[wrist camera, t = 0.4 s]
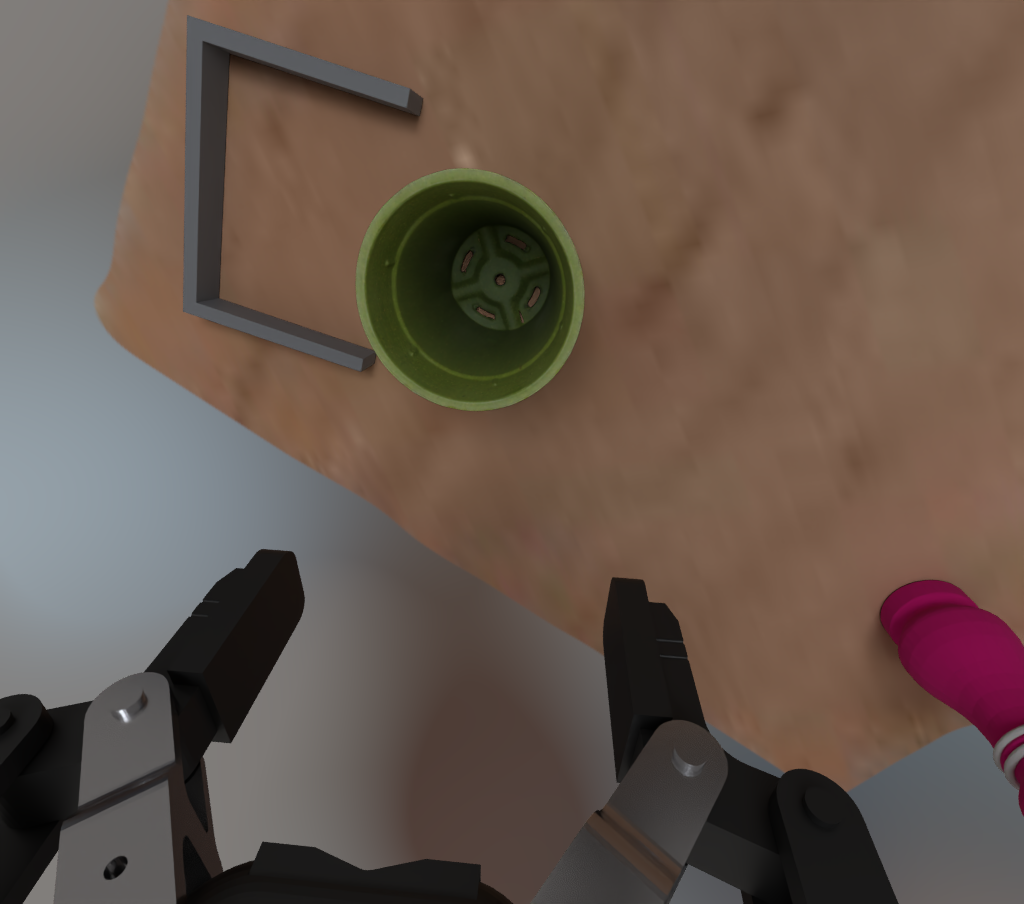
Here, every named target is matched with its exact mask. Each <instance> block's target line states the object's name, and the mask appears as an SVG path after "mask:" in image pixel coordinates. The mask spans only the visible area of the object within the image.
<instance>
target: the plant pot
mask: <svg viewBox="0 0 1024 904" xmlns="http://www.w3.org/2000/svg"><path fill="white" fill-rule="evenodd" d="M508 235H510V236H513V237H515V238H517V239H518V240H521V241H522V242H524V243H525V244H526V248H525V249H524V250H522V249H521V248H519V247H518V246H516V245H514V244H512V243H510V242H505V240H506V238H507V236H508ZM478 238H479V240H478ZM469 250H471V251H472V252H473V257H472V258H471V260H470V262H469V265H468V266H467V268H466V273H465V272H462V271H461V266H462V262H463V260H464V257H465V255H466V254H467V252H468V251H469ZM537 257H539V258H537ZM499 274H502V275H504V277H505V283H504V284H503V285H498V284H496V282H495V277H496V276H497V275H499ZM535 287H539V288H540V291H541V292H540V295H539V297H538V300H537V301H536V303H535V304H534V306H532V307H531V308H530V307H529V306H528V301H529V299H530V298H531V296H532V294H533V291H534V289H535ZM356 299H357V306H358V311H359V315H360V319H361V322H362V325H363V328H364V331H365V333H366V336H367V338H368V340H369V342H370V344H371V346H372V348H373V349H374V351H375V353H376V354H377V356H378V357H379V359H380V360H381V362H382V363H383V364H384V366H385V367H386V368H387V369H388V370H389V372H390V373H391V374H392V375H393V376H394V377H395V378H396V379H398V380H399V381H400V382H401V383H402V384H403V385H405V386H406V387H407V388H408V389H410V390H411V391H413V392H414V393H416V394H417V395H419V396H421V397H423V398H425V399H427V400H429V401H431V402H433V403H436V404H438V405H441V406H445V407H449V408H454V409H459V410H466V411H487V410H494V409H499V408H503V407H507V406H510V405H513V404H515V403H518V402H520V401H522V400H524V399H526V398H528V397H529V396H531V395H532V394H534V393H536V392H537V391H538V390H540V389H541V388H542V387H544V386H545V385H546V384H547V383H548V382H549V381H550V380H551V379H553V377H554V376H555V375H556V374H557V373H558V372H559V370H560V369H561V368H562V366H563V365H564V363H565V362H566V361H567V359H568V357H569V355H570V354H571V352H572V349H573V347H574V345H575V343H576V340H577V338H578V335H579V331H580V328H581V323H582V318H583V311H584V280H583V274H582V269H581V265H580V261H579V258H578V254H577V252H576V249H575V246H574V244H573V242H572V240H571V238H570V236H569V234H568V232H567V231H566V229H565V227H564V226H563V224H562V223H561V221H560V220H559V218H558V217H557V216H556V214H555V213H554V212H553V211H552V209H551V208H550V207H549V206H548V205H547V204H546V203H545V202H544V201H543V200H542V199H541V198H539V197H538V196H537V195H536V194H535V193H533V192H532V191H531V190H529V189H528V188H526V187H524V186H523V185H521V184H520V183H518V182H516V181H514V180H512V179H510V178H507V177H505V176H503V175H500V174H497V173H493V172H489V171H485V170H478V169H469V168H457V169H448V170H443V171H439V172H436V173H433V174H430V175H427V176H424V177H422V178H420V179H418V180H416V181H413V182H411V183H410V184H408V185H407V186H405V187H404V188H402V189H401V190H400V191H399V192H397V193H396V194H395V195H394V196H393V197H391V198H390V199H389V201H388V202H387V203H386V204H385V205H384V206H383V207H382V208H381V209H380V210H379V212H378V213H377V215H376V216H375V217H374V219H373V221H372V223H371V224H370V226H369V228H368V230H367V232H366V235H365V237H364V239H363V242H362V245H361V248H360V252H359V256H358V261H357V268H356ZM477 307H481V308H482V309H483V310H486V311H487V312H489V313H492V314H495V319H496V320H494V319H492V318H490V317H486V316H484V315H482V314H480V313H479V312H477V310H476V308H477ZM519 311H520V312H521V314H522V317H523V319H524V323H522V322H521V317H520V314H519Z"/></svg>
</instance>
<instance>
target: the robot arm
mask: <svg viewBox="0 0 1024 904" xmlns="http://www.w3.org/2000/svg"><path fill="white" fill-rule="evenodd" d="M304 602H305V597H304V591H303V587H302V582H301V578H300V574H299V569H298V565H297V560H296V557H295V554H294V553H293V552H291V551H281V550H267V549H261V550H259V551H258V552H257V553H256V554H255V555H254V556H253V558H252V559H251V560H250V562H249V563H248V564H247V566H246V567H245V568H244V569H240V568H236V569H235V570H233V571H232V572H230V573H229V574H228V575H226V576H225V577H223V578H222V579H221V580H219V581H218V582H216V584H215V585H214V586H213V587H212V589H211V590H210V591H209V592H208V594H207V595H206V596H205V598H204V599H203V602H202V603H200V604H199V605H198V606H197V607H196V608H195V610H194V611H193V612H192V615H191V617H188V618H187V620H186V621H185V622H184V623H183V625H182V626H181V627H180V628H179V630H178V631H177V632H176V633H175V635H174V636H173V637H172V638H171V640H170V641H169V642H168V643H167V645H166V646H165V647H164V648H163V649H162V651H161V652H160V653H159V654H158V656H157V657H156V658H155V659H154V661H153V662H152V663H151V664H150V666H149V667H148V668H147V669H146V670H145V672H143V673H138V674H134V675H131V676H128V677H125V678H123V679H121V680H119V681H117V682H115V683H114V684H112V685H111V686H109V687H108V688H107V689H105V690H104V691H103V692H102V693H100V694H99V696H98V697H96V698H95V700H93V701H89V702H84V703H79V704H74V705H68V706H64V707H59V708H53V709H48V710H46V709H45V707H44V706H43V704H42V703H41V701H40V700H39V699H38V698H37V697H35V696H33V695H28V694H18V695H13V696H9V697H5V698H2V699H0V904H23V902H24V901H25V899H26V897H27V896H28V895H29V893H30V892H31V890H32V889H33V887H34V886H35V884H36V883H37V881H38V880H39V878H40V877H41V875H42V874H43V872H44V871H45V869H46V868H47V866H48V865H49V863H50V862H51V860H52V859H53V857H54V856H55V854H56V853H57V851H58V850H59V851H58V862H57V872H56V884H55V894H54V904H513V903H512V902H511V901H510V900H509V899H507V898H506V897H505V896H504V895H503V894H501V893H500V892H498V891H496V890H495V889H494V888H492V887H490V886H488V885H486V884H484V883H482V882H480V881H481V878H480V876H481V865H478V864H467V863H459V862H450V861H440V860H430V859H424V860H419V861H414V862H409V863H404V864H399V865H394V866H389V867H384V868H380V869H375V870H362V869H359V868H357V867H355V866H353V865H351V864H349V863H347V862H345V861H343V860H341V859H339V858H336V857H334V856H332V855H330V854H328V853H326V852H324V851H322V850H320V849H318V848H316V847H307V846H298V845H289V844H279V843H269V842H262V844H261V846H260V849H259V851H258V853H257V856H256V858H255V860H254V861H249V862H247V863H244V864H241V865H238V866H235V867H233V868H231V869H228V870H226V871H224V872H223V868H222V864H221V861H220V858H219V854H218V851H217V847H216V842H215V837H214V829H213V821H212V814H211V806H210V798H209V790H208V782H207V775H206V767H205V761H204V758H203V755H204V753H205V751H206V750H207V747H208V746H209V744H210V743H211V741H213V742H224V743H231V742H232V740H233V739H234V737H235V735H236V734H237V732H238V729H239V728H240V726H241V725H242V723H243V721H244V719H245V717H246V716H247V714H248V712H249V710H250V708H251V707H252V705H253V703H254V701H255V699H256V698H257V696H258V694H259V692H260V690H261V689H262V687H263V685H264V683H265V682H266V679H267V678H268V676H269V674H270V673H271V671H272V669H273V667H274V665H275V664H276V662H277V660H278V658H279V656H280V655H281V653H282V651H283V649H284V647H285V646H286V644H287V642H288V640H289V638H290V637H291V635H292V633H293V631H294V630H295V628H296V626H297V624H298V622H299V620H300V618H301V616H302V613H303V609H304ZM603 647H604V657H605V668H606V677H607V688H608V698H609V708H610V718H611V729H612V739H613V749H614V760H615V768H616V779H617V782H618V783H620V784H619V786H618V787H617V789H616V791H615V792H614V793H613V795H612V796H611V798H610V799H609V801H608V803H607V804H606V805H605V806H604V808H603V809H602V810H600V811H599V810H597V811H595V812H594V813H593V814H592V815H591V817H590V818H589V819H588V820H587V821H586V823H585V824H584V826H583V827H582V829H581V830H580V831H579V833H578V834H577V836H576V837H575V839H574V840H573V842H572V843H571V845H570V846H569V848H568V849H567V851H566V852H565V854H564V855H563V856H562V858H561V859H560V861H559V862H558V864H557V865H556V867H555V868H554V870H553V871H552V873H551V874H550V876H549V877H548V878H547V880H546V881H545V883H544V884H543V886H542V887H541V889H540V890H539V892H538V893H537V895H536V896H535V898H534V899H533V901H532V902H531V903H530V904H669V903H670V901H671V898H672V897H673V894H674V892H675V890H676V888H677V886H678V884H679V882H680V880H681V878H682V876H683V874H684V872H685V870H686V868H687V866H688V864H689V865H691V866H693V867H695V868H698V869H700V870H702V871H704V872H706V873H708V874H710V875H712V876H714V877H716V878H718V879H720V880H722V881H724V882H726V883H728V884H730V885H732V886H734V887H736V888H738V889H740V890H741V894H742V898H743V904H898V901H897V899H896V896H895V894H894V892H893V889H892V887H891V884H890V882H889V880H888V877H887V875H886V872H885V870H884V867H883V865H882V863H881V860H880V858H879V856H878V853H877V850H876V848H875V846H874V843H873V841H872V838H871V836H870V834H869V831H868V829H867V826H866V824H865V821H864V819H863V817H862V815H861V813H860V811H859V809H858V807H857V806H856V804H855V803H854V801H853V800H852V799H851V797H850V796H849V795H848V794H847V793H846V792H845V791H844V790H843V789H842V788H841V787H840V786H839V785H837V784H836V783H835V782H833V781H832V780H830V779H829V778H827V777H826V776H824V775H822V774H820V773H817V772H814V771H811V770H807V769H793V770H790V771H788V772H786V773H785V774H783V775H782V777H781V778H778V777H776V776H773V775H771V774H768V773H766V772H764V771H761V770H759V769H756V768H754V767H751V766H749V765H747V764H745V763H742V762H740V761H739V760H737V759H735V758H734V757H732V756H731V755H730V754H728V753H727V752H726V751H725V750H723V748H721V746H720V744H719V743H718V741H717V740H716V739H715V738H714V737H713V736H712V735H711V734H710V732H709V730H708V728H707V726H706V723H705V720H704V716H703V713H702V709H701V705H700V701H699V698H698V694H697V690H696V686H695V682H694V679H693V675H692V671H691V667H690V664H689V661H688V659H687V657H688V656H687V652H686V649H685V645H684V644H683V637H682V634H681V630H680V626H679V622H678V620H677V619H676V617H675V616H674V615H673V613H672V612H671V611H670V609H669V608H668V607H667V605H666V604H665V603H654V602H649V601H648V597H647V592H646V587H645V583H644V581H643V580H641V579H628V578H615V577H613V578H612V580H611V584H610V590H609V596H608V601H607V607H606V613H605V618H604V627H603Z"/></svg>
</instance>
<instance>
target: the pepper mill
mask: <svg viewBox="0 0 1024 904" xmlns="http://www.w3.org/2000/svg"><path fill="white" fill-rule="evenodd" d="M881 622H882V625H883V627H884V628H885V630H886V631H887V633H888V634H889V635H890V637H891V638H892V639H893V641H894V642H895V643H896V644H897V645H898V654H899V658H900V660H901V663H902V665H903V666H904V668H905V669H906V671H907V672H908V673H909V674H910V675H911V676H912V678H913V679H914V680H915V681H916V682H917V683H918V684H919V685H920V686H921V687H922V688H924V689H925V690H926V691H927V692H928V693H930V694H931V695H932V696H934V697H935V698H937V699H938V700H940V701H941V702H943V703H945V704H946V705H948V706H949V707H951V708H952V709H954V710H956V711H957V712H958V713H960V714H961V715H963V716H964V717H965V718H966V719H968V720H969V721H970V722H971V723H972V724H973V725H975V726H976V727H977V728H978V730H979V731H980V732H981V733H982V734H983V735H984V736H985V737H986V739H987V740H988V741H989V742H990V743H991V745H992V747H993V748H994V751H993V759H994V761H995V764H996V765H997V767H998V768H999V769H1000V770H1001V771H1002V772H1003V773H1005V777H1006V779H1007V780H1008V781H1009V783H1010V784H1011V785H1012V786H1014V787H1015V788H1016V789H1018V790H1019V806H1020V809H1021V812H1022V814H1023V816H1024V647H1023V645H1022V643H1021V641H1020V639H1019V638H1018V637H1017V636H1016V634H1015V633H1014V632H1013V631H1012V630H1011V629H1010V628H1009V626H1008V625H1007V624H1006V623H1005V622H1004V621H1002V620H1001V619H1000V618H999V617H997V616H996V615H994V614H992V613H990V612H988V611H985V610H983V609H979V608H978V606H977V605H976V604H975V603H974V602H973V601H972V600H971V599H970V598H969V597H968V596H967V595H966V594H965V593H964V592H963V591H962V590H961V589H959V588H958V587H956V586H954V585H953V584H950V583H947V582H943V581H939V580H925V581H918V582H913V583H911V584H908V585H905V586H903V587H901V588H899V589H898V590H896V591H895V592H893V593H892V594H891V595H890V596H889V597H888V598H887V599H886V601H885V602H884V604H883V606H882V609H881Z"/></svg>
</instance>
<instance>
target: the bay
mask: <svg viewBox="0 0 1024 904" xmlns="http://www.w3.org/2000/svg"><path fill="white" fill-rule="evenodd" d="M229 54H233V55H236V56H239V57H242V58H245V59H248V60H251V61H254V62H257V63H260V64H263V65H266V66H269V67H272V68H275V69H278V70H281V71H284V72H287V73H290V74H293V75H296V76H299V77H302V78H305V79H308V80H311V81H314V82H317V83H320V84H323V85H326V86H329V87H332V88H335V89H338V90H342V91H345V92H348V93H351V94H354V95H357V96H360V97H363V98H366V99H369V100H372V101H375V102H378V103H381V104H384V105H387V106H390V107H393V108H396V109H399V110H402V111H405V112H408V113H411V114H414V115H417V116H420V112H421V107H422V101H423V98H422V97H421V96H419V95H418V94H417V93H415V92H414V91H413V90H411V89H410V88H407V87H404V86H401V85H397V84H394V83H391V82H388V81H385V80H382V79H379V78H376V77H373V76H370V75H367V74H364V73H361V72H358V71H355V70H352V69H349V68H346V67H343V66H340V65H337V64H334V63H331V62H328V61H325V60H322V59H319V58H316V57H313V56H310V55H306V54H303V53H300V52H297V51H294V50H291V49H288V48H285V47H282V46H279V45H276V44H273V43H270V42H267V41H264V40H261V39H258V38H255V37H252V36H249V35H246V34H243V33H240V32H237V31H234V30H231V29H228V28H225V27H222V26H219V25H215V24H212V23H209V22H206V21H203V20H200V19H197V18H194V17H191V16H188V15H187V64H186V138H185V212H184V285H183V312H186V313H189V314H192V315H195V316H198V317H201V318H204V319H207V320H210V321H213V322H216V323H219V324H221V325H224V326H227V327H230V328H233V329H236V330H239V331H242V332H245V333H248V334H251V335H254V336H257V337H260V338H263V339H266V340H269V341H272V342H275V343H278V344H280V345H283V346H286V347H289V348H292V349H295V350H298V351H301V352H304V353H307V354H310V355H313V356H316V357H319V358H322V359H325V360H328V361H331V362H334V363H337V364H339V365H342V366H345V367H348V368H351V369H354V370H357V371H360V372H361V371H363V370H365V369H366V368H368V367H370V366H371V365H373V364H374V362H375V357H376V353H375V351H373V350H370V349H367V348H364V347H361V346H358V345H356V344H353V343H350V342H347V341H344V340H341V339H338V338H335V337H332V336H329V335H326V334H323V333H320V332H317V331H314V330H311V329H308V328H305V327H302V326H299V325H296V324H293V323H290V322H288V321H285V320H282V319H279V318H276V317H273V316H270V315H267V314H264V313H261V312H258V311H255V310H252V309H249V308H246V307H243V306H240V305H237V304H234V303H231V302H228V301H225V300H222V299H220V298H219V284H220V261H221V238H222V215H223V192H224V169H225V146H226V123H227V100H228V77H229Z"/></svg>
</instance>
